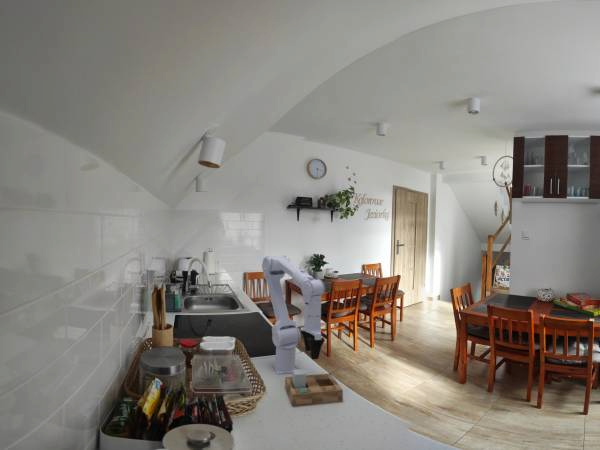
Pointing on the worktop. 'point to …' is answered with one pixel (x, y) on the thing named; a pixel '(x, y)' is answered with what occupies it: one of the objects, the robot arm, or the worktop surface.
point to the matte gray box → (299, 379)
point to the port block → (315, 390)
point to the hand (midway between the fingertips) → (311, 354)
